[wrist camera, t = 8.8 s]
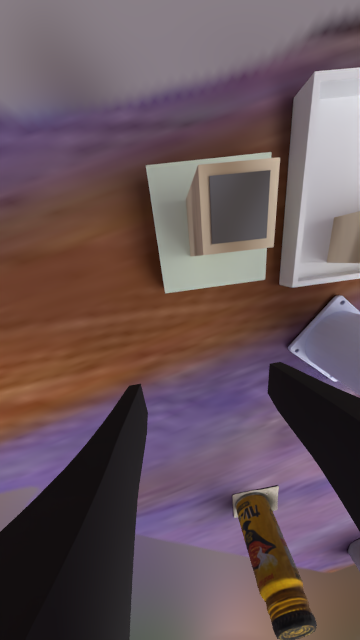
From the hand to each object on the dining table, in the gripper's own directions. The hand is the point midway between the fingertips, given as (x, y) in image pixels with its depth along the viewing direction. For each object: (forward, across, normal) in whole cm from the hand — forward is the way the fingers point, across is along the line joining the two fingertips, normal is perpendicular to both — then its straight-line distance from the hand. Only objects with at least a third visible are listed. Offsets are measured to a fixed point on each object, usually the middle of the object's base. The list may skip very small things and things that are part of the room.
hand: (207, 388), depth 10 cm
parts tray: (+10, -17, -10) cm, 22 cm away
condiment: (+10, -9, +37) cm, 39 cm away
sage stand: (+10, -3, -9) cm, 13 cm away
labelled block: (+7, -3, -9) cm, 12 cm away
